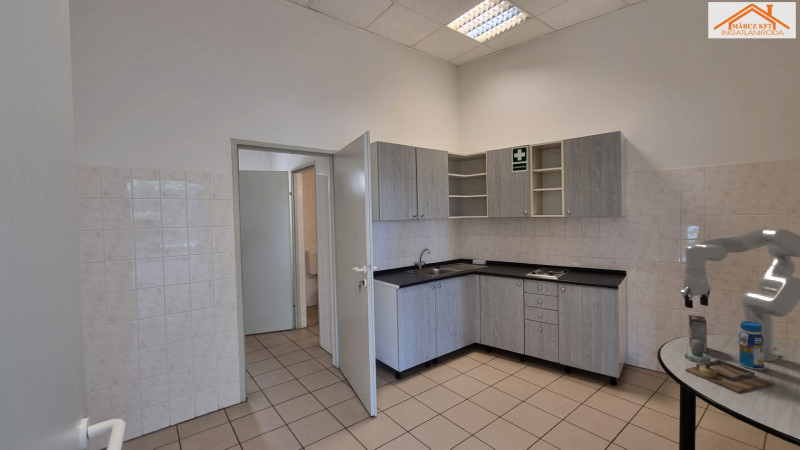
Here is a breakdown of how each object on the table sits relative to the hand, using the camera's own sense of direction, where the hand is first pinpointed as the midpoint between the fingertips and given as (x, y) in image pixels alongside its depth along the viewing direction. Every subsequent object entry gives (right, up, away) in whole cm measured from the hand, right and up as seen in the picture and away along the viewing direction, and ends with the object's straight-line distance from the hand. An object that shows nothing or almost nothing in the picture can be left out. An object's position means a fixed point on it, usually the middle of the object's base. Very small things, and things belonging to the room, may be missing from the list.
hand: (696, 306), depth 165 cm
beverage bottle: (+18, -26, -8) cm, 33 cm away
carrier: (-1, -27, -17) cm, 32 cm away
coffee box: (+12, -25, +13) cm, 31 cm away
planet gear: (+1, -26, +1) cm, 26 cm away
